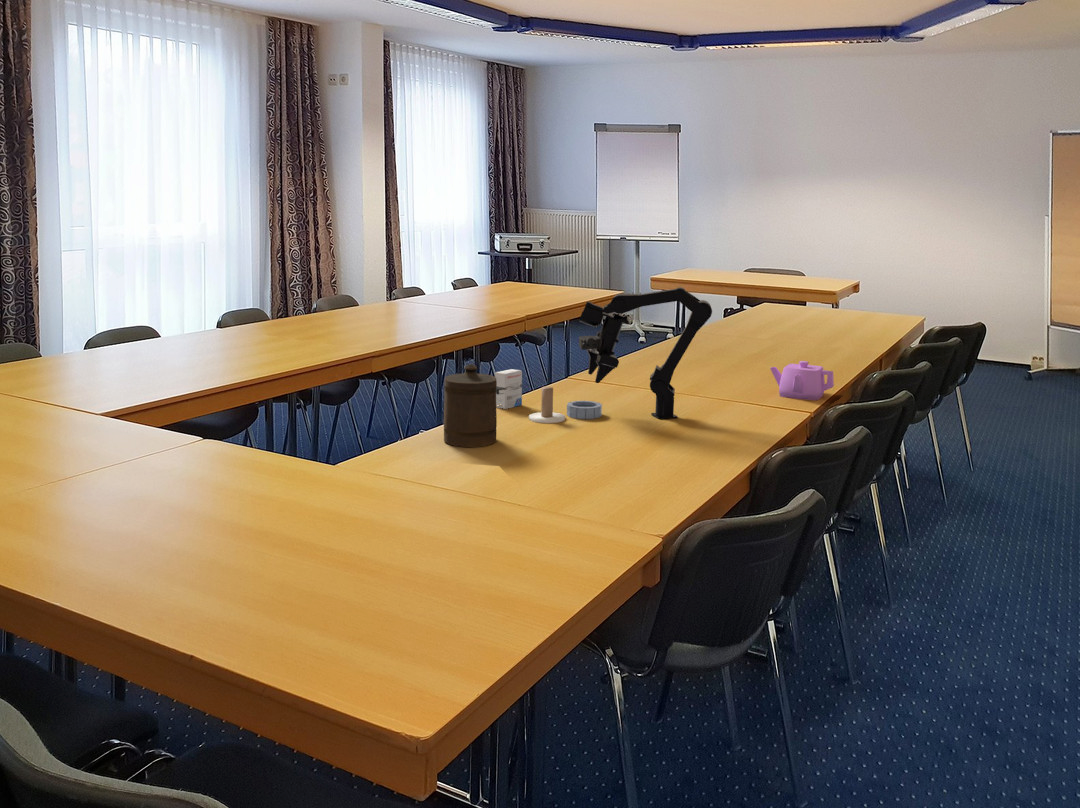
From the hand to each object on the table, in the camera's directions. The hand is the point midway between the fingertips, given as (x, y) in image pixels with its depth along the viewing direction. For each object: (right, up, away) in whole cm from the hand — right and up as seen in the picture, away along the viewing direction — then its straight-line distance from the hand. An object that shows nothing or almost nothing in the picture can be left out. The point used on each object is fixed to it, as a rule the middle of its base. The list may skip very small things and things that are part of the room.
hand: (593, 378), depth 303 cm
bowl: (-3, -12, 0) cm, 12 cm away
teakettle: (+75, -5, +33) cm, 82 cm away
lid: (-15, -13, -6) cm, 20 cm away
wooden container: (-37, -19, -33) cm, 53 cm away
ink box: (-27, -9, +11) cm, 31 cm away
